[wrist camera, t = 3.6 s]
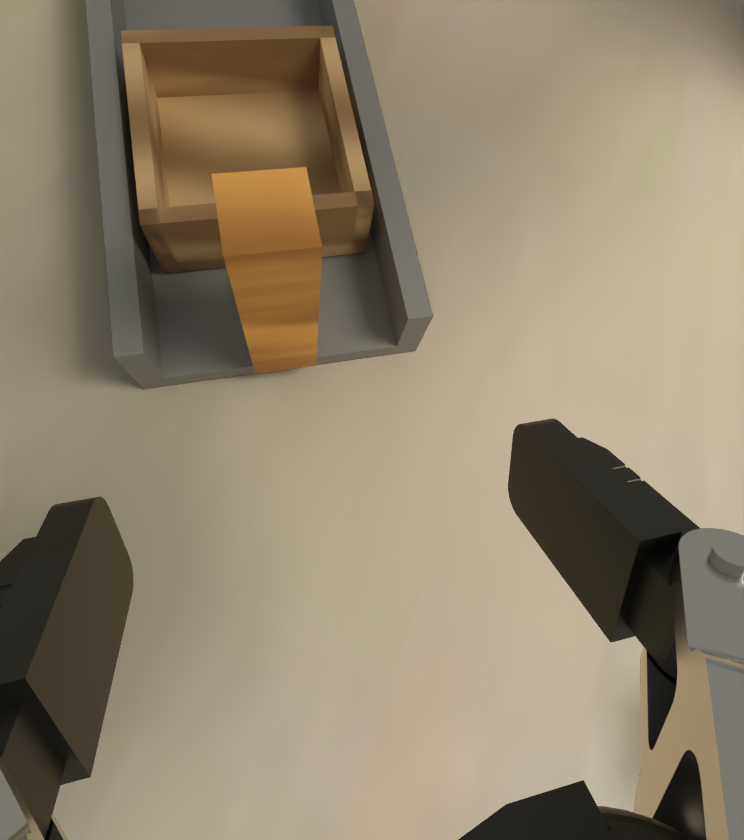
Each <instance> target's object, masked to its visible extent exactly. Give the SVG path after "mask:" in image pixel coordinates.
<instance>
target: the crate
mask: <svg viewBox="0 0 744 840" xmlns="http://www.w3.org/2000/svg"><path fill="white" fill-rule="evenodd" d="M121 39H122V49H123V59H124V69H125V79H126V89H127V99H128V110H129V120H130V130H131V140H132V150H133V160H134V170H135V180H136V190H137V200H138V210H139V220H140V226H141V228H142V230H143V232H144V234H145V236H146V238H147V240H148V243H149V245H150V247H151V249H152V251H153V253H154V255H155V257H156V259H157V261H158V263H159V265H160V267H161V269H162V271H163V273H164V274H165V273H175V272H184V271H194V270H203V269H213V268H223V267H226V268H227V272H228V276H229V279H230V283H231V287H232V290H233V294H234V298H235V301H236V305H237V309H238V312H239V316H240V320H241V323H242V327H243V331H244V335H245V338H246V342H247V346H248V349H249V353H250V357H251V360H252V364H253V368H254V371H255V374H257V373H265V372H272V371H279V370H286V369H293V368H300V367H307V366H314V365H316V362H317V342H318V322H319V301H320V281H321V261H322V257H328V256H338V255H348V254H357V253H366V248H367V243H368V237H369V232H370V227H371V221H372V216H373V211H374V206H375V204H374V200H373V195H372V191H371V187H370V183H369V178H368V174H367V170H366V166H365V161H364V157H363V153H362V149H361V144H360V140H359V136H358V132H357V127H356V123H355V119H354V115H353V110H352V106H351V102H350V98H349V93H348V89H347V85H346V81H345V76H344V72H343V68H342V63H341V59H340V55H339V51H338V46H337V42H336V38H335V34H334V29H333V26H297V27H257V28H216V29H175V30H135V31H121Z"/></svg>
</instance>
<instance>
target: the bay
mask: <svg viewBox="0 0 744 840" xmlns="http://www.w3.org/2000/svg"><path fill="white" fill-rule="evenodd" d="M85 2H86V14H87V27H88V40H89V53H90V66H91V78H92V91H93V104H94V117H95V130H96V142H97V155H98V168H99V181H100V193H101V206H102V219H103V232H104V245H105V257H106V270H107V283H108V296H109V309H110V321H111V334H112V347H113V358H114V359H115V360H116V361H117V362H118V363H119V364H120V365H121V366H122V367H123V368H124V369H125V370H126V371H127V373H128V374H129V375H130V376H131V377H132V378H133V379H134V380H135V381H136V382H137V383H138V384H139V385H140V386H141V387H142V389H147V388H154V387H161V386H168V385H176V384H183V383H190V382H197V381H204V380H211V379H218V378H225V377H232V376H240V375H247V374H254V373H255V371H254V368H253V364H252V360H251V357H250V353H249V349H248V346H247V342H246V338H245V335H244V331H243V327H242V323H241V320H240V316H239V312H238V309H237V305H236V301H235V298H234V294H233V290H232V287H231V283H230V279H229V276H228V272H227V268H226V267H223V268H213V269H203V270H194V271H184V272H175V273H165V274H164V273H163V271H162V269H161V267H160V265H159V263H158V261H157V259H156V257H155V255H154V253H153V251H152V249H151V247H150V245H149V243H148V240H147V238H146V236H145V234H144V232H143V230H142V228H141V226H140V220H139V210H138V200H137V190H136V180H135V170H134V160H133V150H132V140H131V130H130V120H129V110H128V99H127V89H126V79H125V69H124V59H123V49H122V39H121V31H135V30H175V29H216V28H257V27H297V26H333V29H334V34H335V38H336V42H337V46H338V51H339V55H340V59H341V63H342V68H343V72H344V76H345V81H346V85H347V89H348V93H349V98H350V102H351V106H352V110H353V115H354V119H355V123H356V127H357V132H358V136H359V140H360V144H361V149H362V153H363V157H364V161H365V166H366V170H367V174H368V178H369V183H370V187H371V191H372V195H373V200H374V204H375V206H374V211H373V216H372V221H371V227H370V232H369V237H368V243H367V248H366V253H357V254H348V255H338V256H328V257H322V261H321V281H320V301H319V322H318V342H317V362H316V365H318V364H325V363H332V362H339V361H346V360H353V359H361V358H368V357H375V356H382V355H389V354H396V353H403V352H410V351H416V349H417V347H418V345H419V343H420V341H421V339H422V337H423V335H424V333H425V331H426V329H427V327H428V325H429V323H430V321H431V319H432V317H433V314H432V310H431V306H430V302H429V298H428V294H427V290H426V286H425V282H424V278H423V274H422V270H421V266H420V262H419V258H418V254H417V250H416V246H415V242H414V238H413V234H412V230H411V227H410V223H409V219H408V215H407V211H406V207H405V203H404V199H403V195H402V191H401V187H400V183H399V179H398V175H397V171H396V167H395V163H394V159H393V155H392V151H391V147H390V143H389V139H388V135H387V131H386V127H385V124H384V120H383V116H382V112H381V108H380V104H379V100H378V96H377V92H376V88H375V84H374V80H373V76H372V72H371V68H370V64H369V60H368V56H367V52H366V48H365V44H364V40H363V36H362V32H361V28H360V24H359V21H358V17H357V13H356V9H355V5H354V1H353V0H85Z"/></svg>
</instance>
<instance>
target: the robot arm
mask: <svg viewBox="0 0 744 840" xmlns="http://www.w3.org/2000/svg"><path fill="white" fill-rule="evenodd" d="M508 492H509V498H510V501H511V504H512V507H513V509H514V511H515V513H516V514H517V516H518V517H519V518H520V520H521V521H522V523H523V524H524V525H525V527H526V528H527V529H528V531H529V532H530V533H531V535H532V536H533V538H534V539H535V540H536V542H537V543H538V544H539V546H540V547H541V548H542V550H543V551H544V552H545V554H546V555H547V557H548V558H549V559H550V561H551V562H552V563H553V565H554V566H555V567H556V569H557V570H558V572H559V573H560V574H561V576H562V577H563V578H564V580H565V581H566V582H567V584H568V585H569V586H570V588H571V589H572V591H573V592H574V593H575V595H576V596H577V597H578V599H579V600H580V601H581V603H582V604H583V606H584V607H585V608H586V610H587V611H588V612H589V614H590V615H591V616H592V618H593V619H594V620H595V622H596V623H597V625H598V626H599V627H600V629H601V630H602V631H603V633H604V634H605V635H606V637H607V638H608V640H609V641H610V642H615V641H618V640H622V639H626V638H630V637H633V636H636V637H637V639H638V640H639V641H640V642H641V644H642V645H643V646H644V647H643V650H642V653H641V657H640V714H641V763H640V774H639V780H638V785H637V790H636V796H635V804H634V812H630V811H627V810H622V809H616V808H610V807H604V806H597V805H596V803H595V801H594V799H593V797H592V795H591V794H590V792H589V790H588V788H587V786H586V784H585V782H584V781H580V782H576V783H573V784H570V785H567V786H564V787H560V788H557V789H554V790H551V791H548V792H544V793H541V794H538V795H535V796H532V797H528V798H525V799H522V800H519V801H516V802H513V803H509V804H506V805H505V806H504V807H502V808H501V809H499V810H498V811H497V812H495V813H494V814H493V815H491V816H490V817H489V818H487V819H486V820H484V821H483V822H482V823H480V824H479V825H478V826H476V827H475V828H474V829H472V830H471V831H469V832H468V833H467V834H465V835H464V836H463V837H461V838H460V839H459V840H744V535H741V534H738V533H735V532H731V531H727V530H722V529H714V528H701V529H700V528H699V527H698V526H697V525H696V524H694V523H693V522H692V521H691V520H690V519H689V518H687V517H686V516H685V515H684V514H683V513H682V512H680V511H679V510H678V509H677V508H676V507H674V506H673V505H672V504H671V503H670V502H669V501H667V500H666V499H665V498H664V497H663V496H662V495H660V494H659V493H658V492H657V491H656V490H655V489H653V488H652V487H651V486H650V485H649V484H647V483H646V482H645V481H641V480H640V477H639V476H638V475H637V474H636V473H635V472H633V471H632V470H631V469H630V468H626V467H625V464H624V463H623V462H622V461H620V460H619V459H618V458H617V457H616V456H615V455H613V454H612V453H611V452H610V451H609V450H608V449H606V448H604V447H602V446H599V445H597V444H595V443H593V442H591V441H589V440H587V439H585V438H577V437H576V436H575V435H574V434H573V433H571V432H570V431H569V430H568V429H567V428H566V427H565V426H564V425H563V424H561V423H560V422H559V421H558V420H556V419H547V420H541V421H536V422H530V423H524V424H519V425H517V426H516V428H515V430H514V434H513V442H512V452H511V461H510V471H509V481H508ZM132 591H133V570H132V565H131V561H130V558H129V555H128V552H127V550H126V548H125V545H124V543H123V540H122V538H121V535H120V533H119V530H118V528H117V525H116V523H115V521H114V518H113V516H112V513H111V511H110V508H109V506H108V504H107V502H106V501H105V500H104V499H103V498H102V497H96V498H90V499H84V500H78V501H73V502H67V503H61V504H56V505H54V506H52V507H51V509H50V510H49V512H48V514H47V516H46V518H45V520H44V522H43V524H42V526H41V528H40V530H39V532H38V534H37V536H36V537H33V538H27V539H23V540H22V541H21V542H20V543H19V544H18V545H17V546H16V547H15V548H14V549H13V550H12V551H11V552H10V553H9V554H8V555H7V556H6V557H5V558H3V559H2V560H1V561H0V840H68V839H67V837H66V836H65V834H64V832H63V830H62V828H61V827H60V825H59V823H58V821H57V820H56V818H55V817H54V816H53V814H52V813H53V809H54V805H55V802H56V798H57V794H58V791H59V787H60V785H62V784H66V783H70V782H74V781H77V780H81V779H85V778H89V777H91V772H92V768H93V763H94V759H95V755H96V750H97V746H98V741H99V737H100V733H101V728H102V724H103V719H104V715H105V711H106V706H107V702H108V697H109V693H110V689H111V684H112V680H113V675H114V671H115V667H116V662H117V658H118V653H119V649H120V645H121V640H122V636H123V631H124V627H125V623H126V618H127V614H128V609H129V605H130V601H131V596H132Z"/></svg>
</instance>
